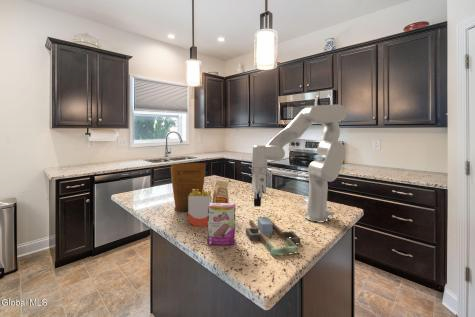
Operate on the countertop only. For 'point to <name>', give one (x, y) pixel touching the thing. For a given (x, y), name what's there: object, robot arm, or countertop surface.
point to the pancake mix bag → (186, 182)
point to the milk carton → (221, 192)
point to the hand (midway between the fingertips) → (257, 205)
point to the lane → (255, 235)
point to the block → (265, 225)
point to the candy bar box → (221, 224)
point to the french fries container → (198, 207)
